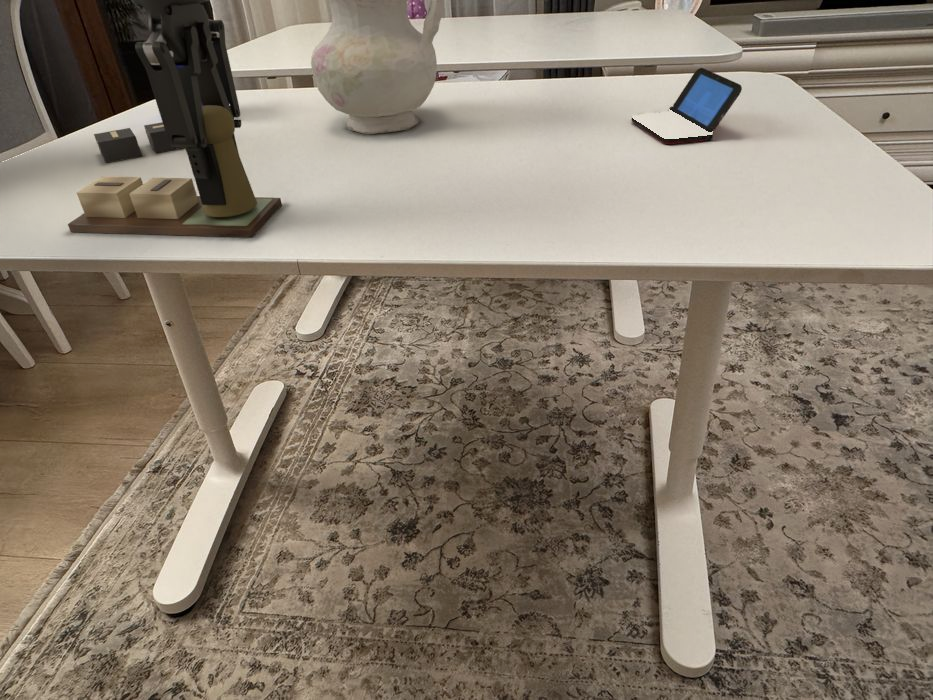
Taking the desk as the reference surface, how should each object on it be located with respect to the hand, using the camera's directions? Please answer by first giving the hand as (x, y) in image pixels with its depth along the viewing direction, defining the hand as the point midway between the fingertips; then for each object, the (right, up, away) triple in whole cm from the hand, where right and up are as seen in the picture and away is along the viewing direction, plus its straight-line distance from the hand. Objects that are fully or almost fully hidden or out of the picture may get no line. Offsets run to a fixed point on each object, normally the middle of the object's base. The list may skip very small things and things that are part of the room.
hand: (225, 194), depth 73 cm
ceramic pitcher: (+15, +19, +32) cm, 40 cm away
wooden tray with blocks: (-6, -2, +3) cm, 7 cm away
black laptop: (+60, +15, +24) cm, 66 cm away
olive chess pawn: (0, -1, +1) cm, 2 cm away
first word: (-21, +13, +24) cm, 35 cm away
